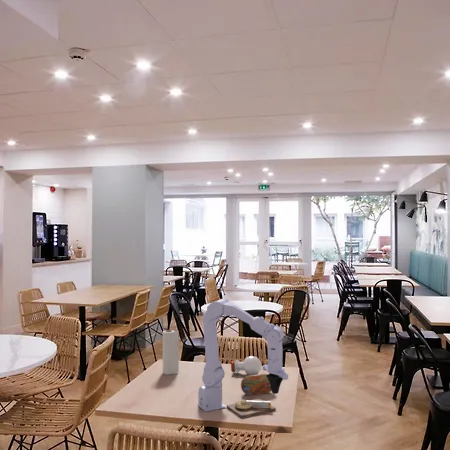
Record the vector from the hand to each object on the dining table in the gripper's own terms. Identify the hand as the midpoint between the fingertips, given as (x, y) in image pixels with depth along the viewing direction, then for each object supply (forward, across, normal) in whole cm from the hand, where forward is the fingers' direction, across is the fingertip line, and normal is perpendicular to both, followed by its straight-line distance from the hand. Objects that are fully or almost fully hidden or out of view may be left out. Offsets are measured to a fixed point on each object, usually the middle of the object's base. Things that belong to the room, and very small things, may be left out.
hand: (275, 393), depth 183 cm
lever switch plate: (+9, +10, +4) cm, 14 cm away
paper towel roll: (+9, +70, +16) cm, 73 cm away
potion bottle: (+9, +50, -17) cm, 54 cm away
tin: (+9, +24, -8) cm, 27 cm away
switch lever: (+8, +9, +4) cm, 13 cm away
